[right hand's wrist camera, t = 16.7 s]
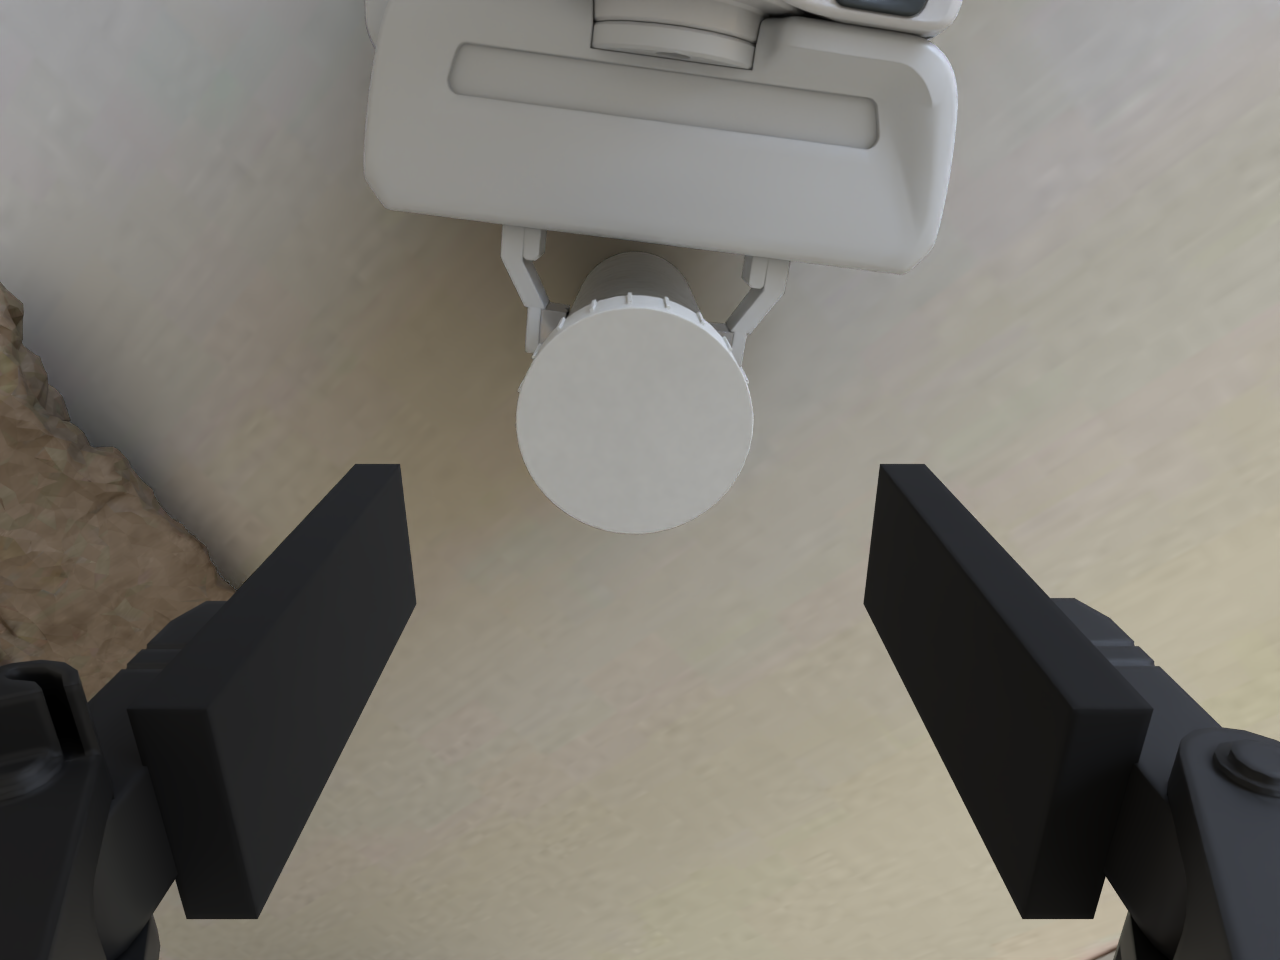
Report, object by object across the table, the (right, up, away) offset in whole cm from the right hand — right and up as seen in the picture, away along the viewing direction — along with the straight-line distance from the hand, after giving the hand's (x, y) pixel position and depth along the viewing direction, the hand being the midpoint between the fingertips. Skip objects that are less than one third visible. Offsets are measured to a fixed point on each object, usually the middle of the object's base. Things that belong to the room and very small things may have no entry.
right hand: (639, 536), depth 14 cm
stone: (-29, -1, +27) cm, 39 cm away
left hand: (0, +6, +17) cm, 18 cm away
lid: (0, +2, +7) cm, 7 cm away
